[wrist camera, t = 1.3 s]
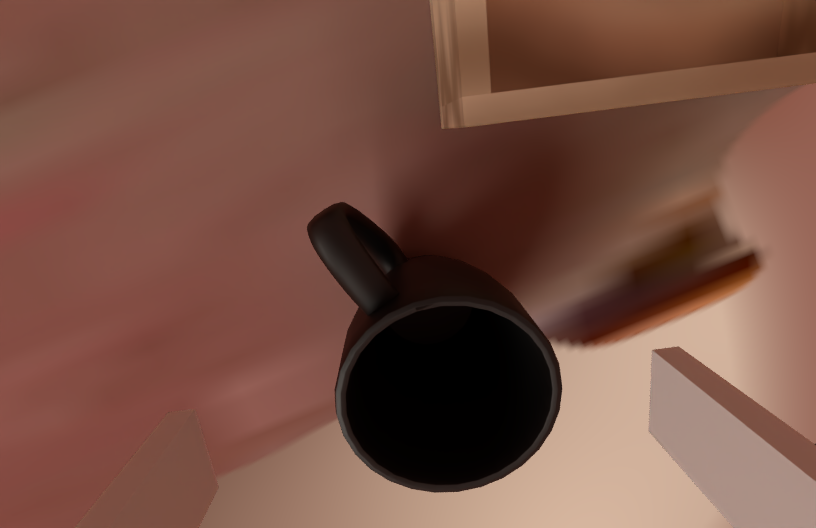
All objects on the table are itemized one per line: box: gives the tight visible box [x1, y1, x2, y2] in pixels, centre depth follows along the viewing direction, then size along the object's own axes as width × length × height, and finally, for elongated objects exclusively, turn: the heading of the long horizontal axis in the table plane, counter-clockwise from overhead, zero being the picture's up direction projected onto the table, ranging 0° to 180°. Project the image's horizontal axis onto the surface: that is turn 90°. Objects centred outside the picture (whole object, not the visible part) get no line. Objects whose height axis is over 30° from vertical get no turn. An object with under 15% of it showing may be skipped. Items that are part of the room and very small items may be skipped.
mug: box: [307, 202, 562, 492], centre depth 19 cm, size 8×12×10 cm
